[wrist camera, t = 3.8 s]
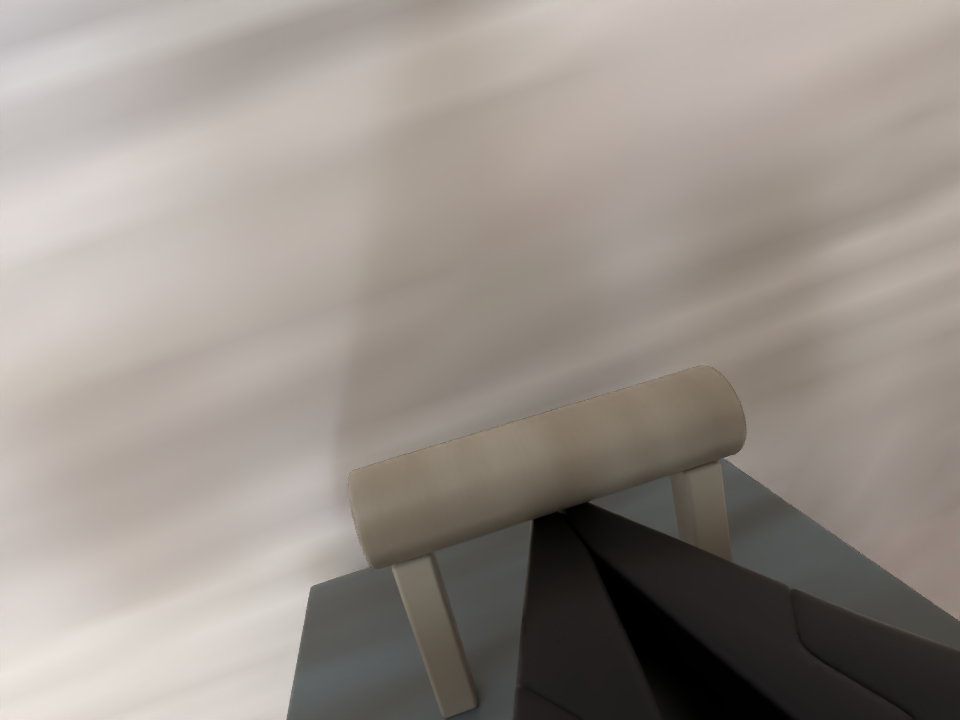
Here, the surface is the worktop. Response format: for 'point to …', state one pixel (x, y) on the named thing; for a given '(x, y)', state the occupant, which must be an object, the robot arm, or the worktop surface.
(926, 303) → the worktop surface
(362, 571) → the drawer
